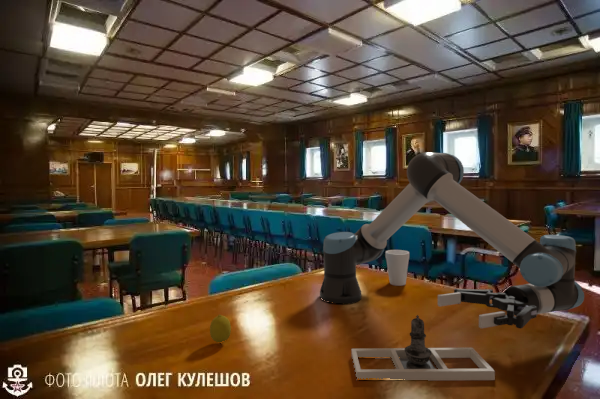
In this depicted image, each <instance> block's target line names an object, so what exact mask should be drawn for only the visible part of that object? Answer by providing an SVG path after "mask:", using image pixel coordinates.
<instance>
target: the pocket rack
mask: <svg viewBox="0 0 600 399" xmlns="http://www.w3.org/2000/svg"><path fill="white" fill-rule="evenodd" d="M405 348H406V347H397V348H394V347H393V348H392V347H390V348H389V347H385V348H382V347H381V348H380V347H379V348H377V347H375V348H371V347H370V348H351V350H350V351H351V360H352V359H353V361H352V364H353V363H354V365H353V369H354V368H355V370H354V373H355V372H356V374H355V378H356V377H357V379H358V378H359V379H360V378H361V379H363V378H364V379H366V378H368V379H369V378H376V379H377V378H379V379H380V378H381V379H383V378H390V379H403V380H404V379H405V380H428V381H495V380H496V379H495V378H496V377H495V376H496V371H495V370H494V368H493V367H492V366H491V365H490V364H489V363H488V362H487V361H486V360H485V359H484V358H483V357H482V355H481V354H480V353H478V352H477V351H476V350H475V348H474V347H427V348H428V349H430V351H431V353H432V354H431V356H430V359H429V361H428V362H427V363H428V364H429V365H430V369H408V368H407V366H406V363H407V362H408V361H410V360H409V359H408V358H407V356H406V352H405ZM358 357H391V358H392V359H391V358H390V359H391V362H392V361H393V362H392V364H393V363H394V364H393V366H394V365H395V366H394V368H390V369H389V368H384V369H383V368H380V369H379V368H377V369H370V368H369V369H368V368H367V369H363V368H362V367H361V365H360V360H359V359H358ZM399 357H400V358H399ZM456 358H457V359H462V358H464V359H471V360H472V362H473V363H474V364H475V366H477V367H478V368H448V366H447V365H446V364H445V363H444V361H443V360H442V359H456ZM433 362H434V363H433ZM435 365H436V366H435ZM395 367H396V368H395ZM437 368H438V369H437ZM357 379H356V380H357Z"/></svg>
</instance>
